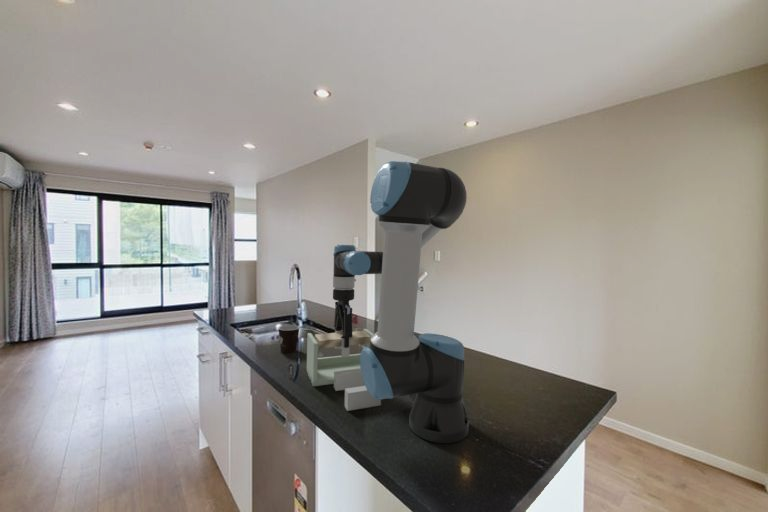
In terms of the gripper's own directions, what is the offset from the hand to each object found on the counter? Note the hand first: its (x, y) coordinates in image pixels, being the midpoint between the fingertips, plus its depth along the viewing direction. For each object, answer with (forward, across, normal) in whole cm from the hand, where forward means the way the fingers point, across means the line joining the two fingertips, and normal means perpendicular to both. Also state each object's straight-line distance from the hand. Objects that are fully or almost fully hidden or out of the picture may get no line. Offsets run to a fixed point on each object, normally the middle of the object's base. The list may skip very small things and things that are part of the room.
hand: (342, 352), depth 114 cm
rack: (+8, -17, 0) cm, 19 cm away
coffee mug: (+8, +30, +15) cm, 35 cm away
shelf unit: (+8, 0, 0) cm, 8 cm away
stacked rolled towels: (-3, 0, 0) cm, 3 cm away
